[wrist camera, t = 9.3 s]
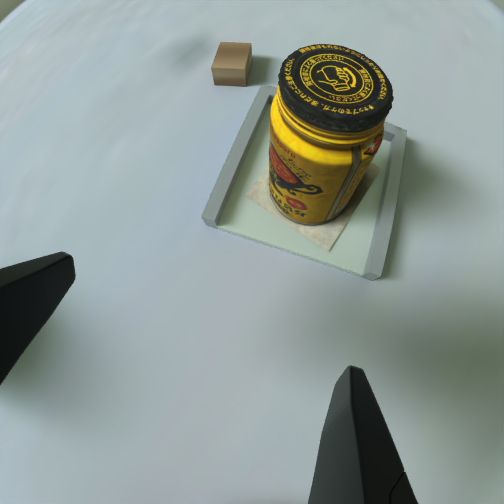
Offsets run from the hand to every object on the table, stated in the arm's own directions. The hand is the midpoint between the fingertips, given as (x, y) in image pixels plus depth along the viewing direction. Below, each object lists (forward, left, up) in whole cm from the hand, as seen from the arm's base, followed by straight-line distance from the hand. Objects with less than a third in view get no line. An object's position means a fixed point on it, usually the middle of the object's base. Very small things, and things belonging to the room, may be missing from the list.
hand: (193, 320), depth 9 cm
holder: (+6, -11, -13) cm, 18 cm away
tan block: (+20, -12, -13) cm, 27 cm away
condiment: (+6, -11, -13) cm, 18 cm away
